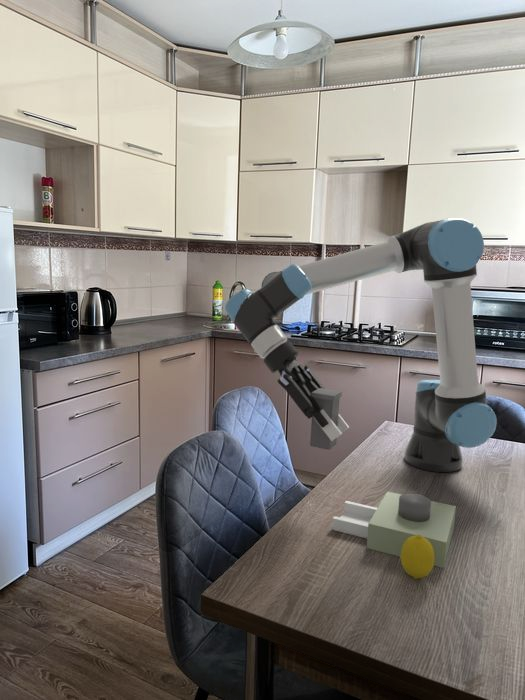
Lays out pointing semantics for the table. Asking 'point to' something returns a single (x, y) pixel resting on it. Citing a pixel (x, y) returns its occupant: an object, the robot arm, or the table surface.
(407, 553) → the lemon
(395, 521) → the green block with knob
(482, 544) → the table surface
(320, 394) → the gray capped pillar
